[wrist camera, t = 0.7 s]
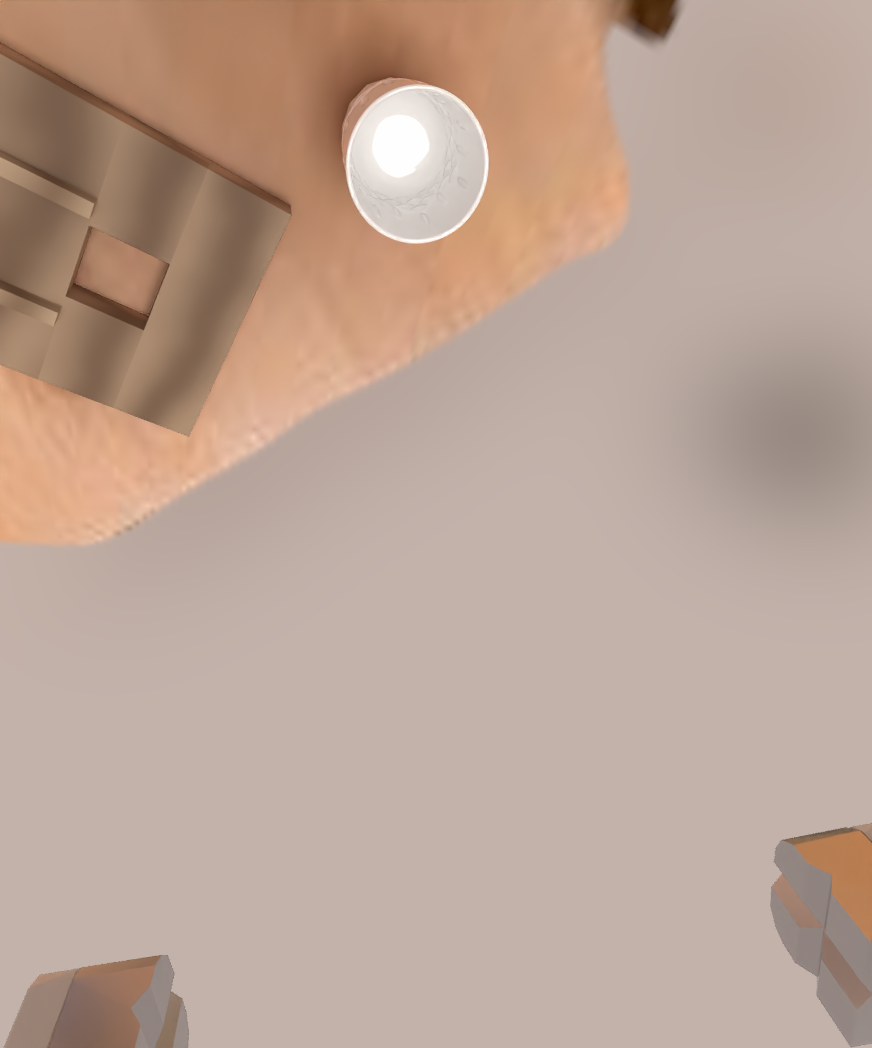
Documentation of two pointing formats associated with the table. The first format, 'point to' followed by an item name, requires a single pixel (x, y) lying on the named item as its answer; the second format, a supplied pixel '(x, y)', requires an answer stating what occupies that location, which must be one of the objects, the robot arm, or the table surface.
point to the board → (132, 217)
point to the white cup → (413, 159)
